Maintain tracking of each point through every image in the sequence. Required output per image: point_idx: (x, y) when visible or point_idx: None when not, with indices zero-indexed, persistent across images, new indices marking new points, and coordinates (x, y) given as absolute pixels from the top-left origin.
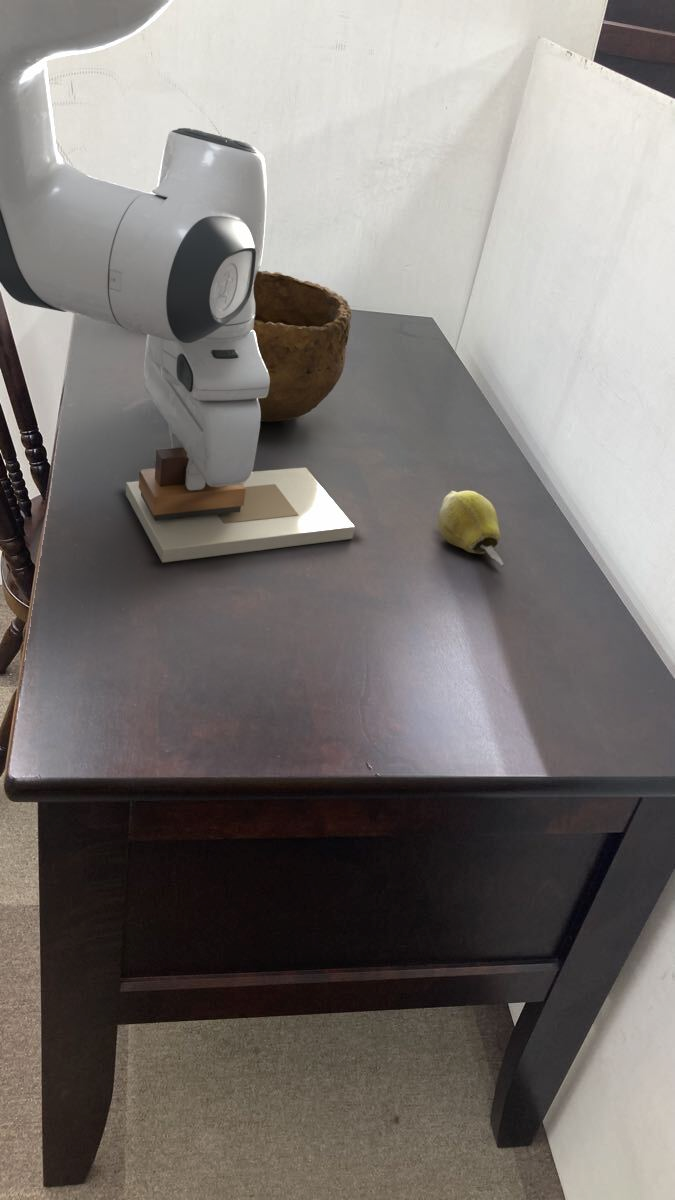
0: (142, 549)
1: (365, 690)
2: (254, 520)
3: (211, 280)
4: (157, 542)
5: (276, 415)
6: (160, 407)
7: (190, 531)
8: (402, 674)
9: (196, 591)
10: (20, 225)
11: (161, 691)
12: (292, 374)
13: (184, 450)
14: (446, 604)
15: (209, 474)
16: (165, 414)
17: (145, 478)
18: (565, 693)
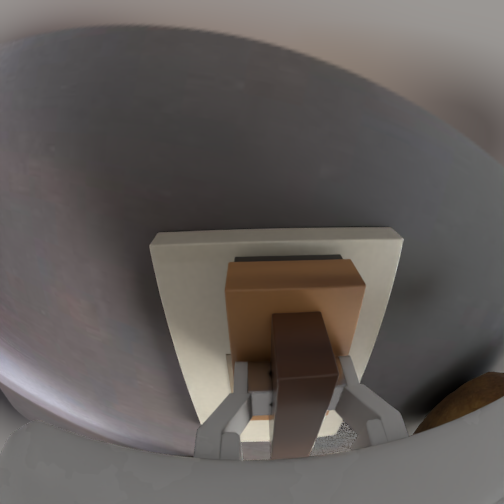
0: (204, 208)
1: (5, 341)
2: (229, 385)
3: None
4: (183, 241)
5: (420, 429)
6: (437, 445)
7: (205, 305)
8: (28, 370)
9: (90, 262)
10: None
11: None
12: None
13: (307, 419)
14: (114, 429)
15: (7, 440)
16: (394, 462)
17: (322, 290)
18: (48, 420)
